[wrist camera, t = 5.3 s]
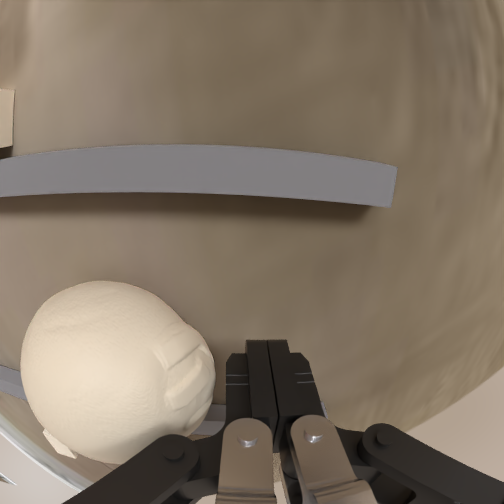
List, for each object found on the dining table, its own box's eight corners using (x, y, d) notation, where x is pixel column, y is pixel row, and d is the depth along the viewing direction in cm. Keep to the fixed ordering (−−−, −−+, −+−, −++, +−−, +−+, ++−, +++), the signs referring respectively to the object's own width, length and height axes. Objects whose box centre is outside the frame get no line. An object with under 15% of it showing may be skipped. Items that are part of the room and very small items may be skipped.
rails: (382, 162, 10) (397, 167, 9) (317, 416, 16) (321, 431, 15) (-73, 176, 8) (-86, 181, 7) (-15, 371, 14) (-21, 381, 13)
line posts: (14, 89, 8) (-31, 88, 5) (87, 425, 16) (76, 458, 13) (-7, 96, 8) (-51, 98, 5) (69, 421, 16) (57, 453, 13)
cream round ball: (223, 376, 14) (223, 498, 8) (90, 369, 14) (49, 469, 7) (213, 249, 11) (196, 384, 5) (51, 254, 11) (-43, 346, 5)
